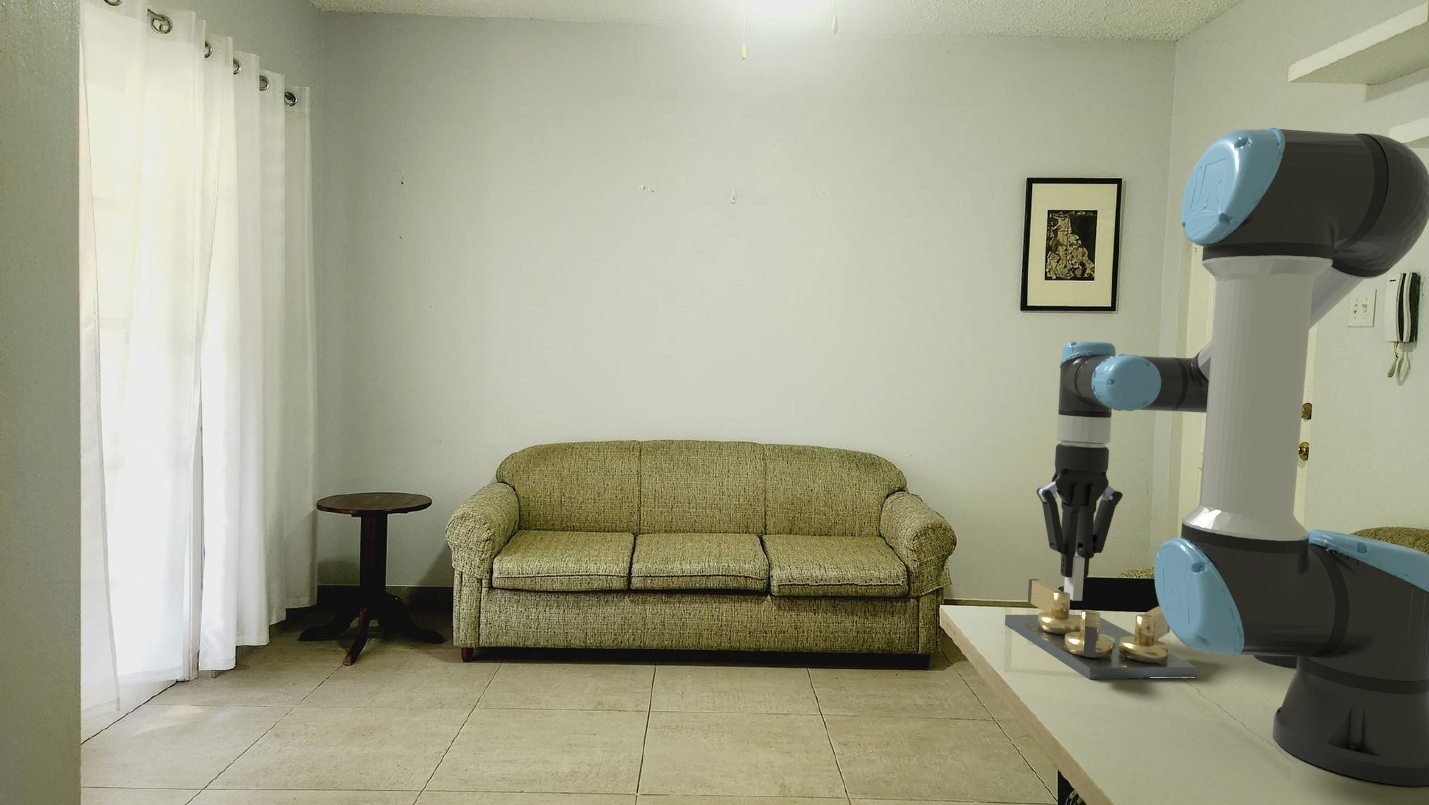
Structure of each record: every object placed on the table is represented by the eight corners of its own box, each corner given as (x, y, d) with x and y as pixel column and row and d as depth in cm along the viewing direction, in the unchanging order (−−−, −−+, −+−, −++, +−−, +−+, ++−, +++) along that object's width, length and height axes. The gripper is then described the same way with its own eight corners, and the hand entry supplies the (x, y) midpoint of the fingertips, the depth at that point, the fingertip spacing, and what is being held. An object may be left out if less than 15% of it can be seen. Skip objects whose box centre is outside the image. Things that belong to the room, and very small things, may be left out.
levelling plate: (1195, 678, 120) (1197, 660, 120) (1089, 679, 118) (1090, 660, 118) (1095, 624, 144) (1096, 609, 144) (1004, 624, 142) (1005, 609, 142)
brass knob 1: (1089, 634, 132) (1091, 598, 132) (1050, 634, 131) (1052, 598, 131) (1049, 612, 144) (1051, 579, 143) (1013, 611, 143) (1015, 578, 142)
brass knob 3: (1159, 665, 119) (1162, 626, 119) (1112, 654, 123) (1114, 615, 123) (1186, 647, 128) (1188, 610, 128) (1141, 637, 132) (1143, 601, 132)
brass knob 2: (1064, 641, 129) (1067, 604, 128) (1111, 647, 126) (1113, 610, 126) (1063, 665, 118) (1065, 625, 118) (1114, 673, 116) (1116, 632, 115)
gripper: (1109, 442, 144) (1099, 592, 145) (1030, 440, 142) (1020, 591, 143) (1137, 447, 136) (1126, 605, 137) (1054, 445, 134) (1044, 604, 136)
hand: (1072, 598), depth 140 cm, fingers closed
